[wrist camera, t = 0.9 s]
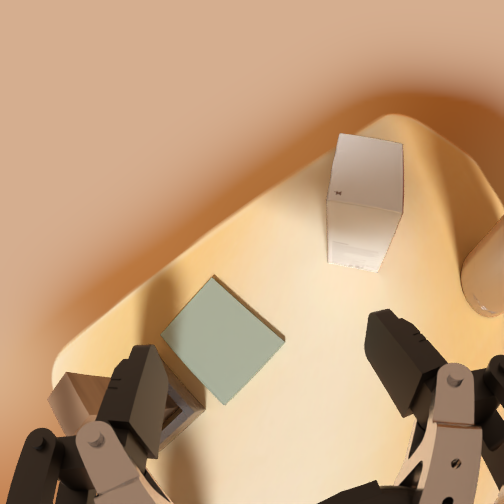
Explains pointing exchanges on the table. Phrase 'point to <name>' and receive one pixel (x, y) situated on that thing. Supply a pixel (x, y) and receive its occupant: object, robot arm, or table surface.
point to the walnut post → (84, 401)
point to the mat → (221, 341)
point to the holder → (184, 402)
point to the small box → (364, 201)
